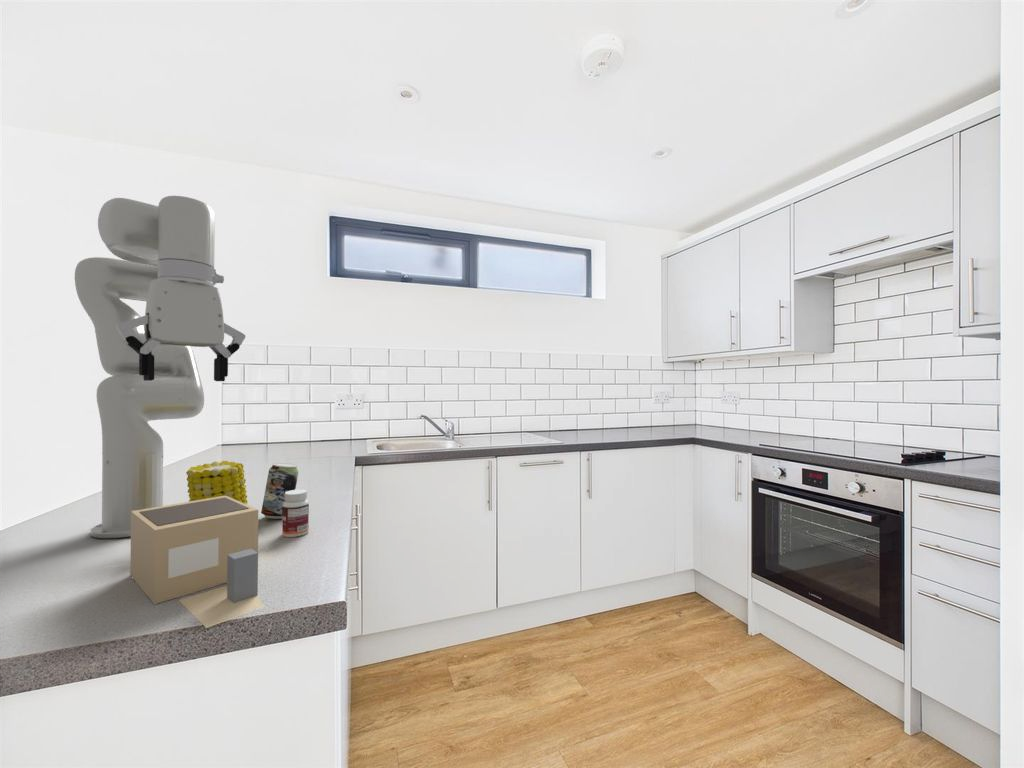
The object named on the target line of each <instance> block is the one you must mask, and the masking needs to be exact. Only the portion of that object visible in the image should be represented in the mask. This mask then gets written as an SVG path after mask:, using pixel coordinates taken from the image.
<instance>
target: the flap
mask: <svg viewBox="0 0 1024 768" xmlns="http://www.w3.org/2000/svg"><path fill="white" fill-rule="evenodd" d="M258 574H259V552H258V553H257V552H256V551H254V550H252V549H248V550H244V551H240V552H236V553H232V554H228V555H227V583H226V585H224V586H221V587H218V588H214V589H211V590H208V591H204V592H201V593H198V594H195V595H192V596H188V597H184V598H182V599H179V600H178V602H180V603H181V604H182V605H183V607H184V608H186V609H187V611H189V612H190V614H192V616H193V617H194V618H195V619H197V621H198V622H199V623H201V624H202V625H203V626H204V627H205V629H208V628H212V627H214V626H216V625H218V624H221V623H224V622H227V621H231V620H232V619H235V618H239V617H240V616H243V615H246V614H249V613H252V612H255V611H257V609H258V610H261V609H263V608H265V606H264V604H263V602H262V601H261V599H260V597H259V594H258V593H259V591H258V589H259V588H258V587H259V586H258V584H259V583H258V578H259V575H258ZM261 606H262V607H261ZM255 609H256V610H255ZM252 610H253V611H252ZM254 610H255V611H254ZM251 611H252V612H251Z"/></svg>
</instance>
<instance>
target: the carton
mask: <svg viewBox="0 0 1024 768" xmlns="http://www.w3.org/2000/svg"><path fill="white" fill-rule="evenodd" d="M248 549H252V550H254V551H256V552H257V553H258V554H259V509H258V508H255V507H253V506H251V505H249V504H247V505H246V504H244V503H242V502H239V501H237V500H235V499H233V498H230V497H228V496H220V497H214V498H208V499H202V500H196V501H190V502H189V501H185V502H178V503H173V504H167V505H163V506H160V507H153V508H147V509H141V510H135V511H131V536H130V560H129V561H130V562H129V563H130V567H129V568H130V572H129V573H130V575H131V576H132V577H133V578H132V577H131V576H130V577H131V578H132V580H133V579H134V580H135V581H136V582H135V581H134V580H133V581H134V582H135V583H136V585H137V586H138V587H139V588H140V589H141V590H142V591H143V593H144V594H145V595H146V596H147V597H148V599H149V600H150V602H152V603H153V605H157V604H160V603H164V602H166V601H169V600H173V599H177V598H180V597H183V596H187V595H189V594H190V595H191V594H193V593H194V594H195V593H197V592H200V591H203V590H206V589H210V588H213V587H216V586H220V585H224V584H227V555H228V554H232V553H236V552H240V551H244V550H248Z"/></svg>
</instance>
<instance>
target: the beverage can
mask: <svg viewBox="0 0 1024 768" xmlns="http://www.w3.org/2000/svg"><path fill="white" fill-rule="evenodd" d="M297 466H298V465H296V464H293V463H285V462H275V463H273V464H272V466H271V467H270V468H269V469H268V474H267V479H266V484H265V488H264V489H265V490H264V495H263V501H262V505H261V507H262V508H261V512H260V513H261V514H262V515H264V517H265V518H268V519H282V515H283V514H282V513H283V512H282V511H283V510H282V506H283V503H284V502H285V501H286V500H285V492H287V491H291V490H297V483H298V482H297V481H298V478H299V470H298V468H297Z"/></svg>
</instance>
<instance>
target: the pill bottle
mask: <svg viewBox="0 0 1024 768" xmlns="http://www.w3.org/2000/svg"><path fill="white" fill-rule="evenodd" d="M307 498H308V491H307V490H306V489H295V490H291V491H287V492H285V500H286V501H285V502H284V503H283V506H282V510H283V511H282V512H283V513H282V514H283V515H282V518H281V519H282V522H281V523H282V536H283V537H285V536H286V537H285V538H297V536H298V537H302V536H305V535H307V534H308V533H309V530H310V527H309V526H310V525H309V523H310V522H309V521H310V520H309V519H310V517H309V515H310V501H309V500H308V499H307ZM301 535H302V536H301Z"/></svg>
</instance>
